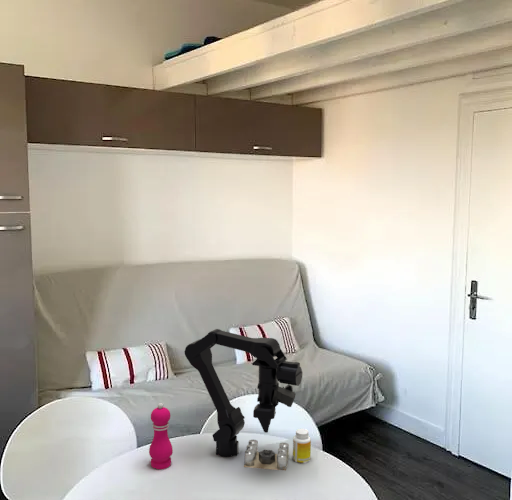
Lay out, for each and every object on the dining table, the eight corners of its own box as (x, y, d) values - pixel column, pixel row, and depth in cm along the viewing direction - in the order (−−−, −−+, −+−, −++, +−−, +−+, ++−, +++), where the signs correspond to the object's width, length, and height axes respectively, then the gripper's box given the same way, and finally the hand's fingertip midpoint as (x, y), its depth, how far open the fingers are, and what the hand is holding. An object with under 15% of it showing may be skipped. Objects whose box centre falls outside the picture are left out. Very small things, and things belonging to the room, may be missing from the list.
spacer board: (241, 476, 173) (241, 473, 173) (248, 454, 187) (248, 451, 187) (284, 480, 172) (284, 477, 171) (288, 457, 185) (288, 454, 185)
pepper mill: (144, 467, 178) (143, 405, 176) (157, 457, 185) (156, 397, 182) (165, 472, 175) (164, 409, 173) (177, 461, 182) (176, 400, 179)
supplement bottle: (313, 462, 182) (314, 431, 181) (301, 468, 179) (302, 436, 178) (301, 456, 187) (302, 425, 185) (289, 461, 183) (289, 430, 182)
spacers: (243, 466, 177) (243, 454, 177) (249, 450, 188) (249, 439, 187) (286, 470, 175) (286, 457, 175) (289, 454, 186) (289, 442, 185)
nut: (257, 463, 179) (257, 455, 179) (259, 456, 184) (259, 448, 183) (274, 464, 179) (274, 457, 178) (275, 457, 183) (276, 450, 183)
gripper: (291, 393, 167) (290, 444, 169) (296, 371, 185) (295, 418, 187) (253, 390, 168) (252, 441, 170) (261, 369, 186) (261, 415, 188)
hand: (267, 428), depth 179 cm, fingers open, 5 cm apart
